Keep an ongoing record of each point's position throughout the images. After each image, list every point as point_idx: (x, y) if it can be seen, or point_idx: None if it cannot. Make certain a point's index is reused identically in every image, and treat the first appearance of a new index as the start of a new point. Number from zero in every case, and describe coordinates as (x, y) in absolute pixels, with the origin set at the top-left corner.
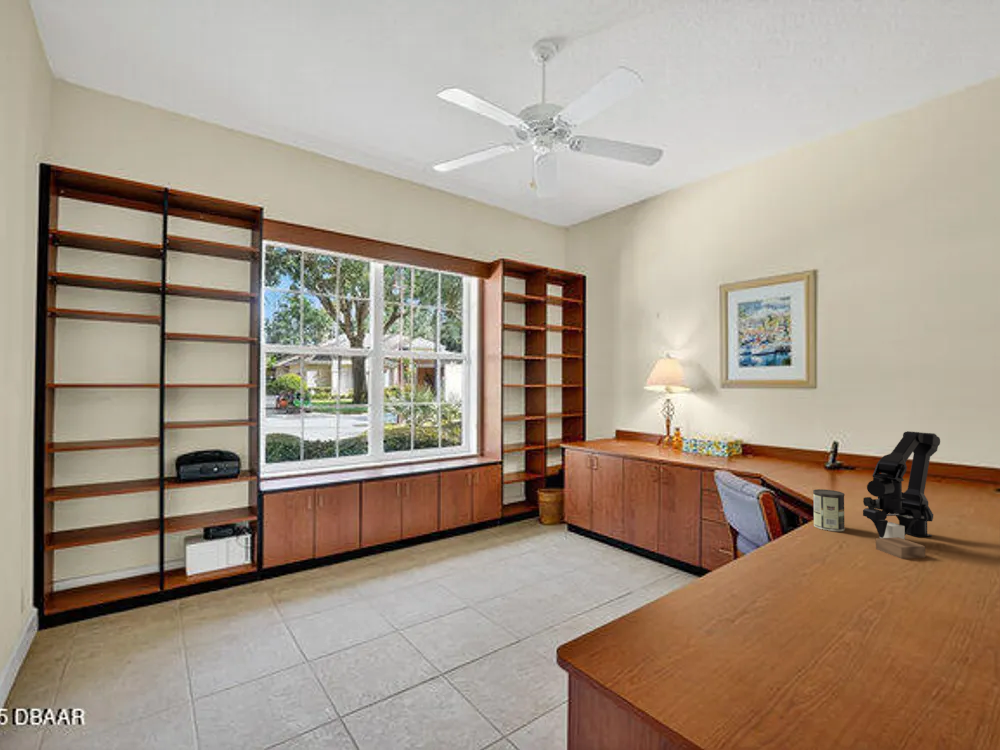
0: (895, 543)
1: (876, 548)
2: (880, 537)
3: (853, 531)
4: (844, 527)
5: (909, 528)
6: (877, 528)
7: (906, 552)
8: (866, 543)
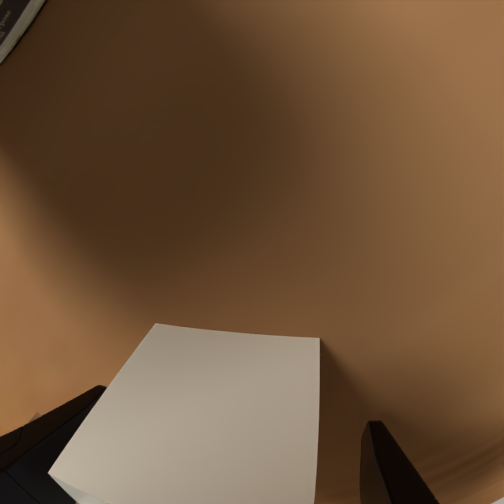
0: None
1: (35, 417)
2: (149, 343)
3: (75, 41)
4: (14, 14)
5: None
6: (34, 435)
7: None
8: (19, 355)
